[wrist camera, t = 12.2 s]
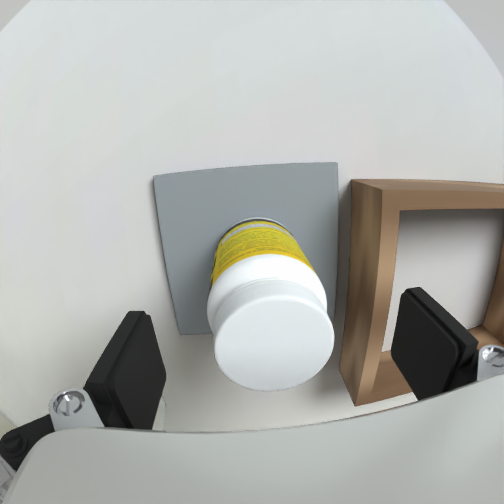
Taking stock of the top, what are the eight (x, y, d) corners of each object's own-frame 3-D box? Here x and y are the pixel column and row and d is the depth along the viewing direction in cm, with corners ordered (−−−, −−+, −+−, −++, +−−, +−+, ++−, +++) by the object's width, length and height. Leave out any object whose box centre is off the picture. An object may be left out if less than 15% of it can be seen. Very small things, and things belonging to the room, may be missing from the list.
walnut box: (485, 331, 22) (509, 353, 18) (339, 369, 21) (354, 406, 17) (515, 185, 17) (549, 195, 13) (351, 179, 16) (382, 189, 13)
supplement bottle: (201, 234, 17) (173, 315, 9) (281, 203, 16) (326, 258, 8) (234, 305, 18) (236, 412, 10) (308, 278, 18) (357, 372, 10)
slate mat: (331, 317, 19) (333, 321, 19) (181, 330, 19) (180, 335, 19) (334, 162, 16) (337, 162, 16) (155, 175, 16) (153, 176, 15)
